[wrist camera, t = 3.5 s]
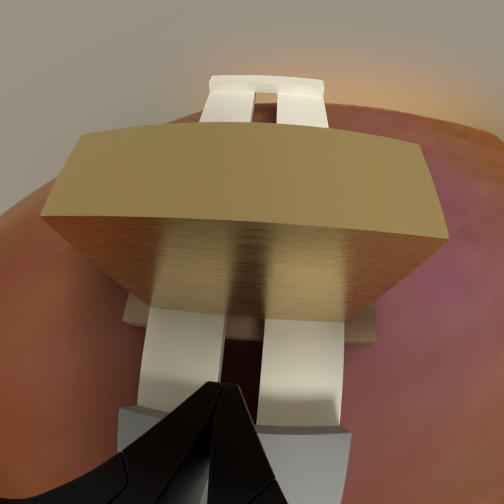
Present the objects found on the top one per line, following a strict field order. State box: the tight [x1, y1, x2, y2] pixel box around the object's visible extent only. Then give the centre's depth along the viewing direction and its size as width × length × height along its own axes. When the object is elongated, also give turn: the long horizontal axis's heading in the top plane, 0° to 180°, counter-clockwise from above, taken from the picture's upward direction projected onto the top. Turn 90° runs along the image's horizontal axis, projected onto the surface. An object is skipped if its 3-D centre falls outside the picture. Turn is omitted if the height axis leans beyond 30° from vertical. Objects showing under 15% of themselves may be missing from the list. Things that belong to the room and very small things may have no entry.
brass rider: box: [40, 122, 449, 322], centre depth 11 cm, size 8×10×10 cm
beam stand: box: [122, 292, 377, 345], centre depth 17 cm, size 6×16×4 cm, turn 85°
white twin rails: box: [117, 75, 352, 504], centre depth 15 cm, size 32×10×3 cm, turn 175°
